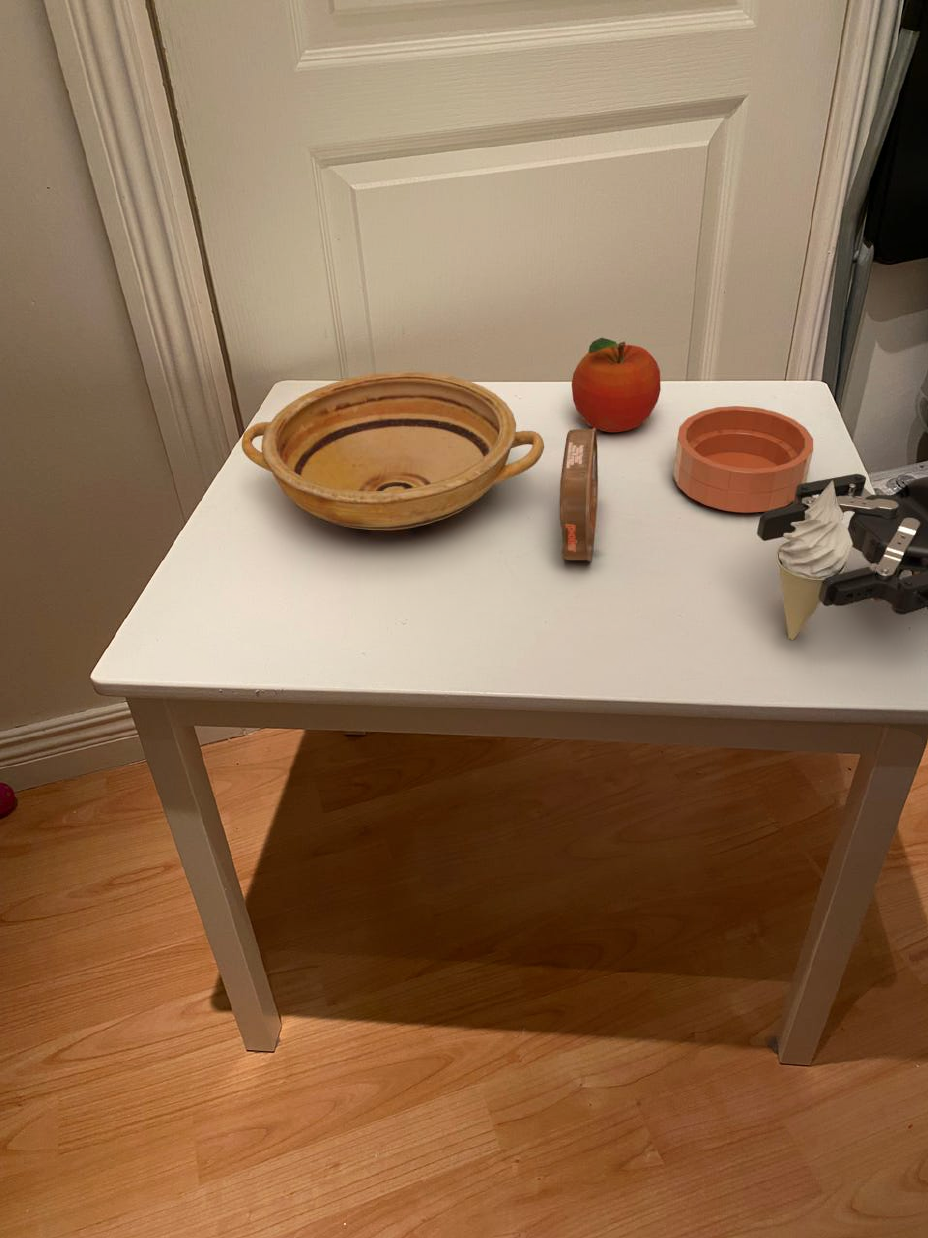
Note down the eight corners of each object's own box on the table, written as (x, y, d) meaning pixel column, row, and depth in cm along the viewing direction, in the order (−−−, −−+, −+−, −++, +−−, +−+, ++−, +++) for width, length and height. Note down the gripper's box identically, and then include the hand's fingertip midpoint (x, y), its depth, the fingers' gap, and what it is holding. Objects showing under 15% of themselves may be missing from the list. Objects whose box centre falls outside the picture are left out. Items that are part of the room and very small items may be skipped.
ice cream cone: (832, 658, 74) (878, 499, 64) (767, 659, 74) (803, 501, 64) (815, 616, 78) (856, 460, 68) (753, 618, 78) (785, 462, 68)
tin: (590, 580, 83) (594, 500, 77) (554, 578, 83) (556, 498, 78) (599, 487, 94) (603, 411, 88) (567, 485, 94) (569, 410, 89)
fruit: (674, 431, 101) (684, 344, 95) (596, 452, 99) (601, 364, 92) (630, 394, 108) (636, 310, 102) (555, 413, 106) (557, 328, 99)
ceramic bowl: (215, 563, 87) (195, 491, 82) (290, 432, 105) (277, 366, 100) (531, 581, 83) (531, 506, 78) (553, 442, 101) (554, 373, 96)
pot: (820, 468, 95) (830, 424, 91) (778, 531, 87) (788, 486, 84) (701, 438, 100) (707, 395, 97) (652, 495, 92) (657, 451, 89)
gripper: (927, 429, 76) (748, 468, 73) (1061, 524, 65) (859, 575, 62) (903, 506, 81) (734, 546, 78) (1024, 606, 70) (835, 657, 67)
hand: (790, 559), depth 70 cm, fingers open, 8 cm apart
